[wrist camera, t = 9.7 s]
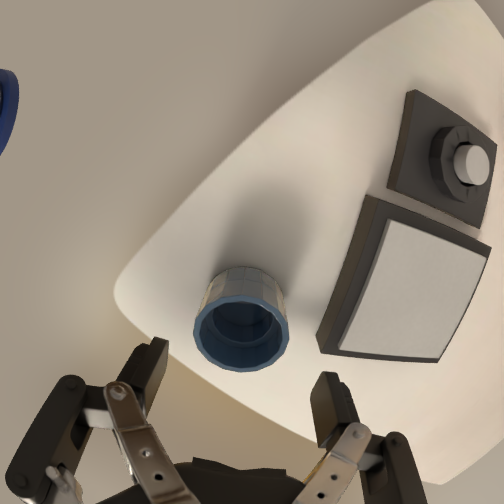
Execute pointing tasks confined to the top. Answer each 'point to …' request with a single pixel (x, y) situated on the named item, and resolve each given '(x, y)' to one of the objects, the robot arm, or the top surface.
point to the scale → (401, 287)
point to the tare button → (471, 164)
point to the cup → (242, 321)
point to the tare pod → (438, 159)
